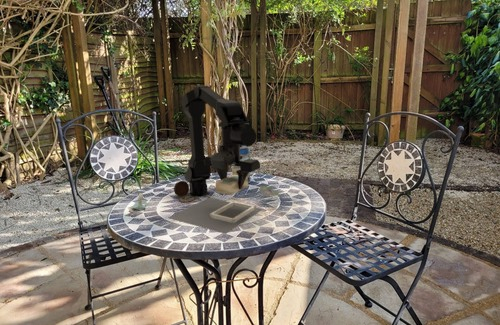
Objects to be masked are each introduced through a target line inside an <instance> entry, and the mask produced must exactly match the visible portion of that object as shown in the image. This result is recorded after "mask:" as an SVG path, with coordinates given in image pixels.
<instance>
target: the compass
mask: <svg viewBox="0 0 500 325" xmlns="http://www.w3.org/2000/svg"><path fill="white" fill-rule="evenodd" d="M173 193H174V194H175V196H177V197H180V198H179V199H178V202H180V203H183V204H187V203H192V202H194V201H195V199H198V198H199V197H198V196H191V195H187V194H189V193H190V186H189V182H187V181H186V180H185V181H183V180H180V181H177V182H176V183H175V185H174V186H173Z"/></svg>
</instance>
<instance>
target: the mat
mask: <svg viewBox="0 0 500 325" xmlns="http://www.w3.org/2000/svg"><path fill="white" fill-rule="evenodd" d="M263 210H264V209H263V208H261V207H260V208H259V207H257V206H256V205H254V204H253V205H252V204H248V203H245V202H244V203H243V202H239V201H234V200H233V201H227V200H221V199H218V198H217V199H216V198H212V197H207V198H206V199H203V200H201V201H199V202H197V203H195V204H193V205H191V206H189V207H187V208H185V209H183V210H181V211H179V212H177V213H176V212H175V213H174V214H172V215H170V216H168V217H167V218H168V219H171V220H174V221H178V222H181V223H185V224H189V225H192V226H197V227H200V228H203V229H207V230H212V231H215V232H218V233H220V234H221V233H222V234H228V233H230V232H231V231H232V230H234V229H235V228H237V227H238V226H240V225H241V224H243V223H244V222H246V221H247V220H249V219H250V218H252V217H254V216H256V214H258V213H260V212H261V211H263Z"/></svg>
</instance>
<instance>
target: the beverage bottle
mask: <svg viewBox="0 0 500 325" xmlns="http://www.w3.org/2000/svg"><path fill="white" fill-rule="evenodd" d="M250 154H251V152H250V149H249V148H248V146H244V145H242V147H240V156H242V159H241V160H240V161H244V160H247V159H251V157H250ZM237 170H240V167H239V166H232V165H231V175H233V174H234V175H238V174H237V172H236V171H237ZM247 177H248V184H249V183H251V172H249V173H248V175H247Z"/></svg>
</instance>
